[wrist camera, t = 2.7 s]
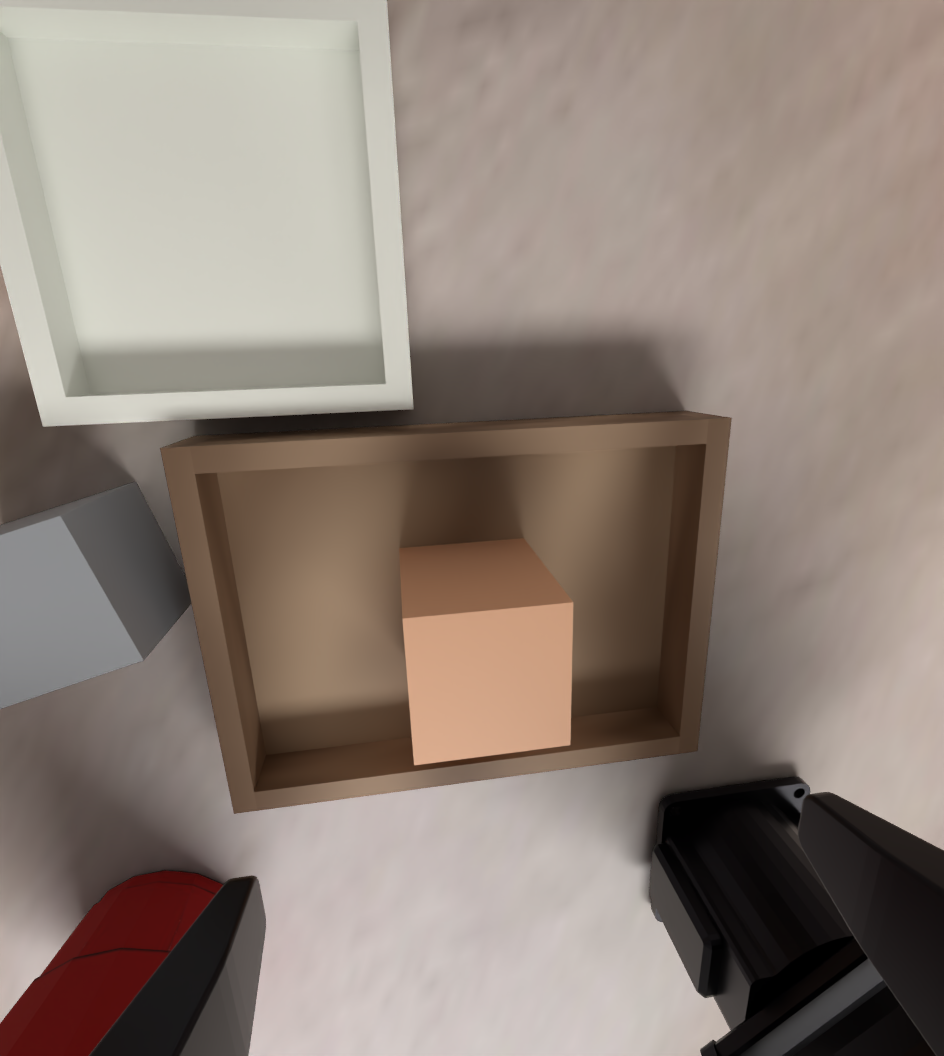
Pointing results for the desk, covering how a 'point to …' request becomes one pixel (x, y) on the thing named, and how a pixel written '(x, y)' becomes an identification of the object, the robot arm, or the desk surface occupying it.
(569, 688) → the terracotta block
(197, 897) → the plastic cup
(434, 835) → the desk surface
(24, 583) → the slate rubber block
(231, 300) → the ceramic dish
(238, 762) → the walnut box
